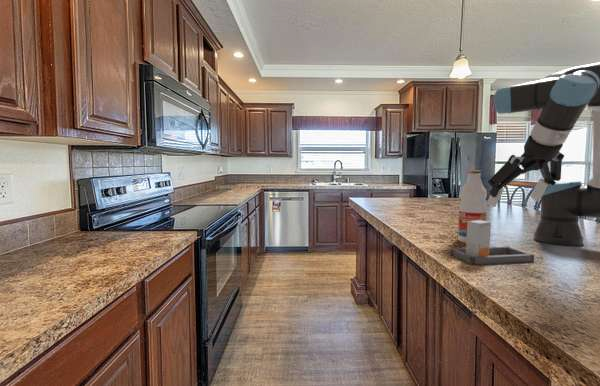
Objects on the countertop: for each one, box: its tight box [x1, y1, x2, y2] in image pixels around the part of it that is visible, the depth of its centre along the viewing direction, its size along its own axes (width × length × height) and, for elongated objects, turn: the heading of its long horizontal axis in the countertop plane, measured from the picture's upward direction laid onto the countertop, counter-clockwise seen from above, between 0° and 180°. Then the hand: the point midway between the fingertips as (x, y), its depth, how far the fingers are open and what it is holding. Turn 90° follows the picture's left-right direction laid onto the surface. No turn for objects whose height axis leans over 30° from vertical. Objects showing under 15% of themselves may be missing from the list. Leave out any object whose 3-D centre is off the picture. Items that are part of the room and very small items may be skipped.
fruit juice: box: [457, 169, 488, 244], centre depth 126 cm, size 9×9×28 cm
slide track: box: [450, 245, 535, 266], centre depth 105 cm, size 21×11×2 cm, turn 97°
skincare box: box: [465, 220, 492, 257], centre depth 104 cm, size 6×4×12 cm
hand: (512, 201), depth 96 cm, fingers open, 13 cm apart
